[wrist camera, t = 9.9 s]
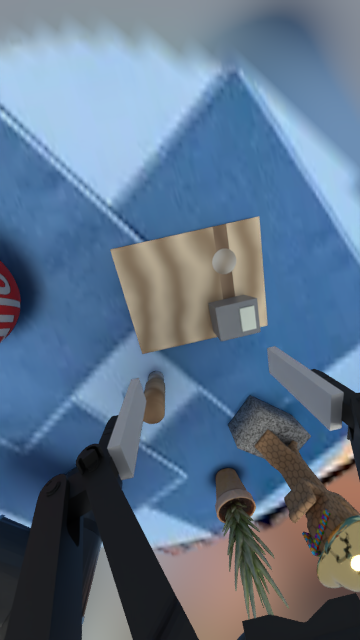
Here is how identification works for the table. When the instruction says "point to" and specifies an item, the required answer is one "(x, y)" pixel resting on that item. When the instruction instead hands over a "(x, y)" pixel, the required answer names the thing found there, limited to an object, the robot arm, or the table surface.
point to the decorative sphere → (8, 302)
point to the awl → (154, 398)
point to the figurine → (304, 491)
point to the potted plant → (243, 536)
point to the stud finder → (234, 317)
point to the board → (189, 281)
